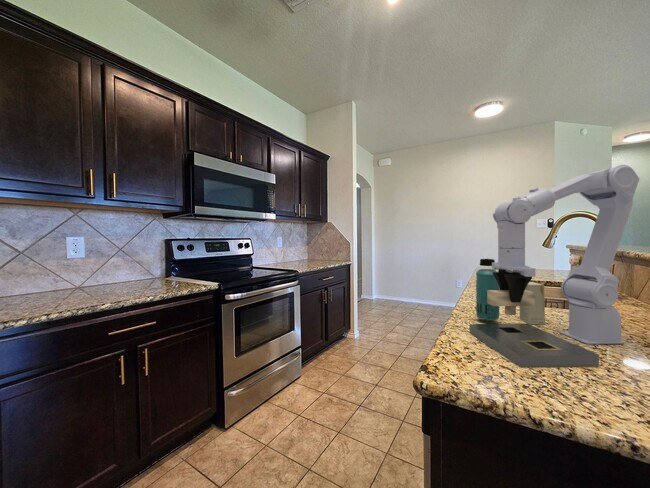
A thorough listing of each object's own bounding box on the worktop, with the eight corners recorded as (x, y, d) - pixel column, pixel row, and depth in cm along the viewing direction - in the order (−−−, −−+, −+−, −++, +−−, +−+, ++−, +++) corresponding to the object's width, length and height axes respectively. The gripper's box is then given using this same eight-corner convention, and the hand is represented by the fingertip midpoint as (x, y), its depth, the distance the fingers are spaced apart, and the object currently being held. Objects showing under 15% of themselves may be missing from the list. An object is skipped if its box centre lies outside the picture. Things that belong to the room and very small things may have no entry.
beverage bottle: (499, 320, 86) (499, 258, 85) (499, 326, 80) (499, 259, 80) (476, 317, 89) (476, 257, 89) (475, 323, 84) (474, 259, 83)
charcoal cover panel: (526, 332, 75) (527, 323, 75) (598, 366, 55) (598, 354, 55) (469, 333, 75) (469, 323, 75) (520, 367, 55) (520, 355, 55)
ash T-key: (526, 312, 71) (526, 289, 71) (534, 315, 68) (534, 292, 68) (487, 312, 72) (487, 290, 71) (493, 315, 69) (493, 292, 68)
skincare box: (545, 325, 80) (545, 285, 80) (529, 324, 81) (529, 284, 81) (533, 319, 87) (533, 281, 86) (518, 318, 88) (518, 281, 87)
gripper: (480, 247, 77) (480, 294, 77) (513, 249, 62) (513, 307, 63) (506, 246, 76) (506, 294, 77) (545, 249, 62) (544, 307, 62)
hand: (511, 300), depth 70 cm, fingers closed on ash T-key, 3 cm apart
